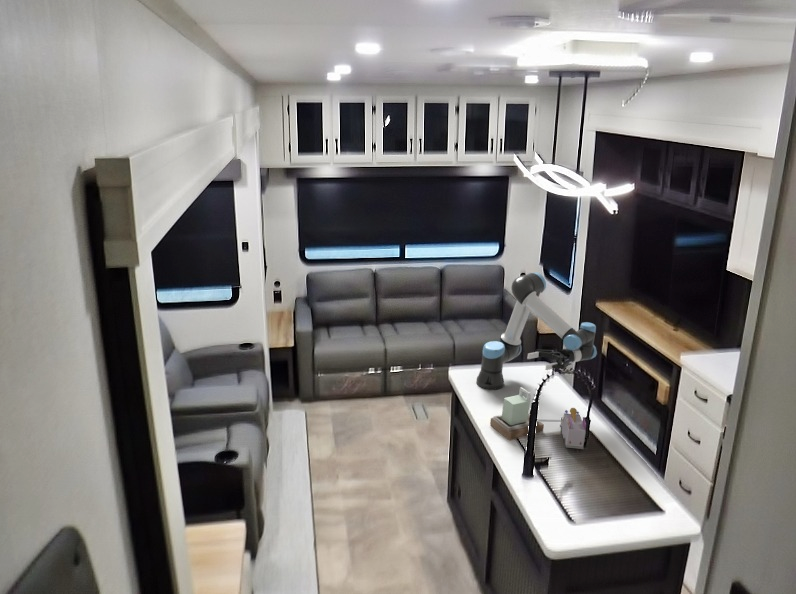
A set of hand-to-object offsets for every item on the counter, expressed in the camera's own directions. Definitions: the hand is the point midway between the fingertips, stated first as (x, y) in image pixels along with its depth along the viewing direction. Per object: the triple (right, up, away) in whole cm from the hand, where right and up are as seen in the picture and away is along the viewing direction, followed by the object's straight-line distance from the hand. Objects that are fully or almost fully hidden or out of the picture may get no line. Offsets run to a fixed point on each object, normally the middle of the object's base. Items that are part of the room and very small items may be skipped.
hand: (536, 361), depth 303 cm
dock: (-10, -32, -3) cm, 34 cm away
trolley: (-12, -28, -5) cm, 31 cm away
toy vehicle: (+13, -36, -11) cm, 40 cm away
